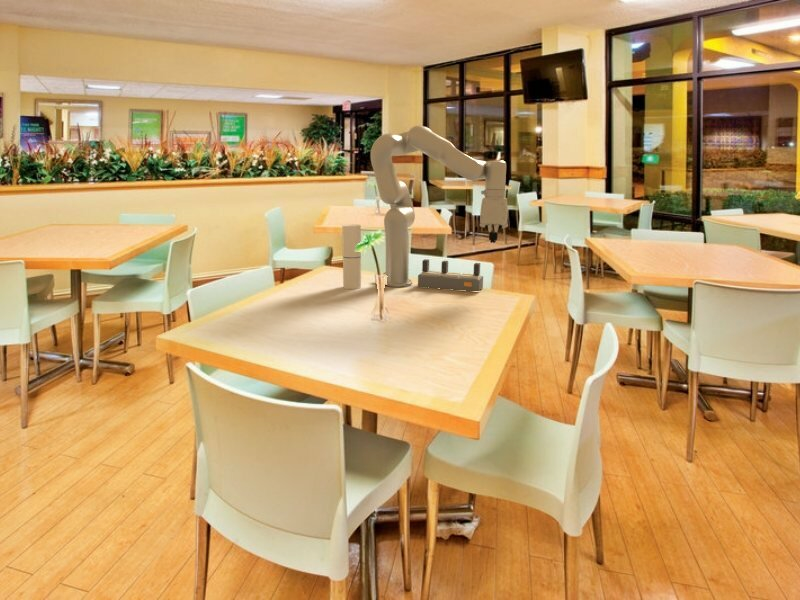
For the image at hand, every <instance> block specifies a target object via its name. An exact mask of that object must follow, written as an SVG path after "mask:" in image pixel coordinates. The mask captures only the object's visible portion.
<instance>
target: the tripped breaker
mask: <svg viewBox="0 0 800 600" xmlns="http://www.w3.org/2000/svg"><path fill="white" fill-rule="evenodd" d="M473 274H474V275H478V276H479V274H480V275H481V263H480V262H474V263H473Z"/></svg>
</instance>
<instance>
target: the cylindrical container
mask: <svg viewBox="0 0 800 600" xmlns="http://www.w3.org/2000/svg"><path fill="white" fill-rule="evenodd" d="M341 226H342V227H341V228H342V229H341V230H342V231H341V232H342V234H341V235H342V272H343V273H342V274H343V275H342V278H343V279H342V282H343V289H346V290H358V289H361V288H362V256H361V255H362V251H361V252H355V251H354V250H355V246H356V245H357V244H358V243H360V242H362V239H361V238H362V237H361V231H362V230H361V227H362V226H361V224H354V223H352V224H351V223H350V224H349V223H346V224H342V225H341Z"/></svg>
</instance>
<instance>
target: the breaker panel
mask: <svg viewBox="0 0 800 600" xmlns="http://www.w3.org/2000/svg"><path fill="white" fill-rule="evenodd" d="M418 287H427V288H426V289H430V288H440V289H439V290H442V289H453V290H452V291H454V290H466V291H480V289H482V290H483V287H484V276H483V275H481V273H480V274H479V276H478V275H474V273H465V272H464V273H463V272H462V273H461V272H451V271H448V272H447V273H441V270H440V271H439V270H429V271H427V272H426V271H422V272H420V274H418V276H417V288H418ZM428 287H429V288H428ZM480 292H481V291H480Z"/></svg>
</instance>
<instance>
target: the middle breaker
mask: <svg viewBox="0 0 800 600" xmlns="http://www.w3.org/2000/svg"><path fill="white" fill-rule="evenodd" d="M440 271H441V273H447V272H449V260H442V261H441V270H440Z"/></svg>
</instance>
